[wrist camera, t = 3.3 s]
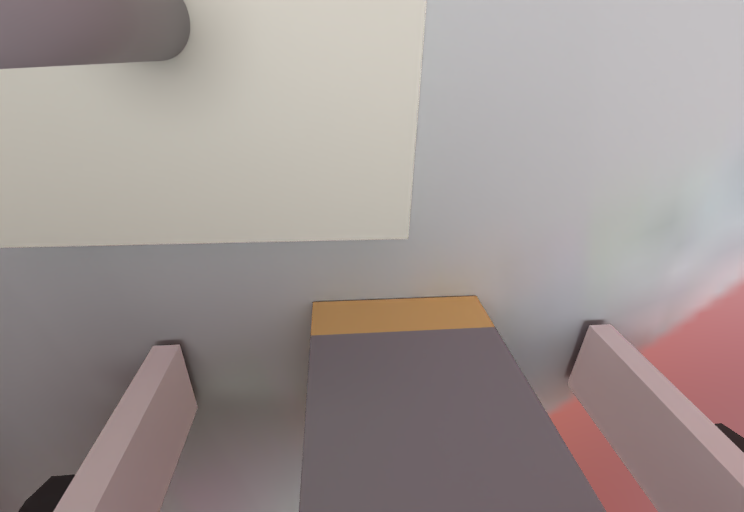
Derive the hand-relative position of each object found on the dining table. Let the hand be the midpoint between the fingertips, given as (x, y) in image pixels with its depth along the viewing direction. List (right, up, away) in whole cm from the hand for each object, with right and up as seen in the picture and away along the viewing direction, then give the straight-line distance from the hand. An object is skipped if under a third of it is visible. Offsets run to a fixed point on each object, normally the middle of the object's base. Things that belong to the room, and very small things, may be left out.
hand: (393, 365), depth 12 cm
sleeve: (0, 0, 0) cm, 0 cm away
